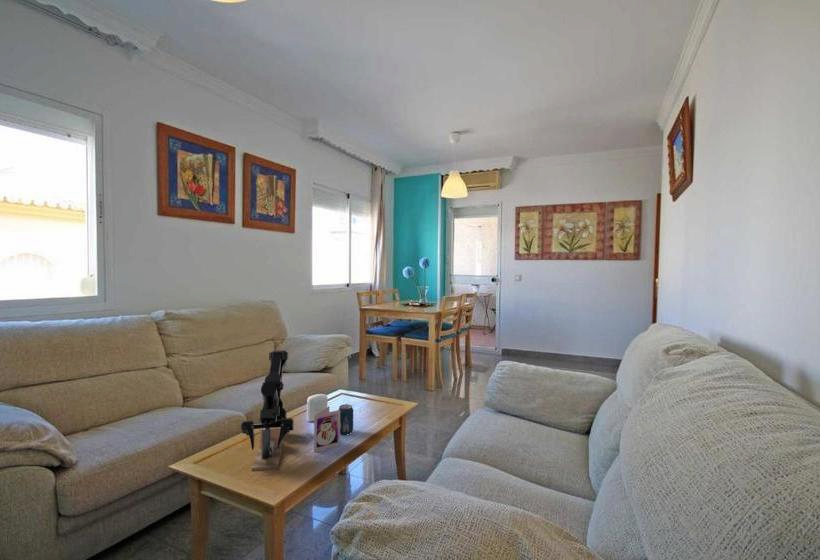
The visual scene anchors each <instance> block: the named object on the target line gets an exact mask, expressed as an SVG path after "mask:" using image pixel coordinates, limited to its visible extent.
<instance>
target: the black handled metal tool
mask: <svg viewBox="0 0 820 560" xmlns="http://www.w3.org/2000/svg"><path fill="white" fill-rule="evenodd" d="M271 450H272V449H270V427H264V428H262V459H263V460H268V459H269V457H270V454H271Z"/></svg>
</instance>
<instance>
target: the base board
mask: <svg viewBox="0 0 820 560" xmlns="http://www.w3.org/2000/svg"><path fill="white" fill-rule="evenodd" d="M283 447H284V441H282V445H281V447H279V448H276V449H275V453H274V456H273V458H271V459H268V460H263V459H261V449H260V446H259V447H258V450H257V453H256V455H255V458H254V460H253V463H252V466H251V471H262V470H264V471H265V470H272V469H273V470H274V469H278V467H279V463H280V460H281V456H282V451H283Z"/></svg>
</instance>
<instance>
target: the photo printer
mask: <svg viewBox="0 0 820 560" xmlns="http://www.w3.org/2000/svg"><path fill="white" fill-rule="evenodd" d="M328 400H329V399H328V395H327V394H324V393H318V394H316V393H315V394H313V395H310V396H308V397H307V400H306V422H314V415H316V414H317V413H319V412H321V411H322V410H324V409H325V408H327V407H328Z"/></svg>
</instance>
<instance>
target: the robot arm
mask: <svg viewBox="0 0 820 560" xmlns="http://www.w3.org/2000/svg"><path fill="white" fill-rule="evenodd" d="M268 361H269V362H270V366H269V367H270V368H269V374H268V375H266V376H265V377H264V378H265V379H264V382H262V385H261V387H260V393H261V398H262V401H263V402H262V403H263V404H262V408H261V409H259V410H260V411H259V423H254V420H243V421H242V422H241V424H240V429H241V433H242V434H245V435H246V436H249V440H250V445H251V450H254V449H255V438H256V437H255V436H256V435H255V430H260V429H262V428H264V427H270V428H279V427H281V429H280V435H279V440H278V448H279V446H280V444H281V442H283V440H284V438H285V436H286V435H287V434H289V433H290V432H291V431H294V428H295V427H294V418H292V417H289V418H288V417H287V415H288V414H287V411H286V408H285V405H284V403H283V401H282V391H283V389H284V387H285V386H284V385H285V383H284V382H283V370H284V369H285V368H286V366H287V363H288V362H287V361H289V352H288V351H287V350H272V351H271V352H269V354H268Z"/></svg>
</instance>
